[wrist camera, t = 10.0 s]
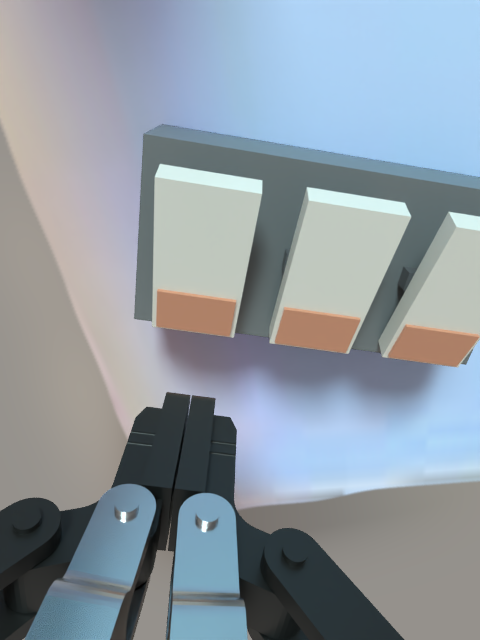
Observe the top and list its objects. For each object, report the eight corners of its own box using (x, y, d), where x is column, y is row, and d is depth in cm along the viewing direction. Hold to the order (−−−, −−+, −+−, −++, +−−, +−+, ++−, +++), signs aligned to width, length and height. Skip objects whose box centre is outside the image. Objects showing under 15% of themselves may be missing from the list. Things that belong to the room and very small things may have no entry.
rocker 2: (404, 202, 16) (412, 219, 15) (345, 338, 21) (348, 356, 20) (306, 187, 16) (309, 202, 15) (269, 327, 21) (269, 345, 20)
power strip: (602, 197, 22) (697, 228, 18) (529, 337, 26) (591, 392, 22) (162, 124, 21) (139, 135, 16) (151, 283, 25) (130, 330, 20)
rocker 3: (543, 226, 16) (557, 245, 16) (451, 350, 21) (458, 369, 20) (448, 211, 16) (458, 229, 15) (378, 340, 21) (382, 359, 20)
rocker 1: (262, 180, 16) (261, 196, 15) (234, 322, 21) (233, 340, 20) (160, 163, 16) (153, 178, 15) (156, 311, 20) (151, 328, 19)
